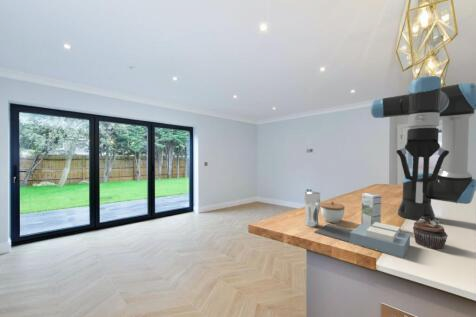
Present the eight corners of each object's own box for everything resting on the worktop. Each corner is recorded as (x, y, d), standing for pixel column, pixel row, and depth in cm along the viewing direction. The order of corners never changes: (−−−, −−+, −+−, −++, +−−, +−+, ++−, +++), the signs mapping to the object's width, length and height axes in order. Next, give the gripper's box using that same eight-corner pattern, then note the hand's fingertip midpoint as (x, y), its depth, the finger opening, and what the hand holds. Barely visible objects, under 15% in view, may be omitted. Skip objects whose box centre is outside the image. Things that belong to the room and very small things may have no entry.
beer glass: (304, 226, 98) (305, 193, 97) (303, 221, 105) (304, 190, 104) (320, 228, 96) (321, 194, 96) (318, 223, 103) (319, 191, 102)
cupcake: (414, 246, 79) (415, 219, 79) (411, 237, 88) (412, 212, 87) (450, 253, 74) (451, 224, 74) (443, 243, 82) (445, 217, 82)
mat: (328, 224, 101) (328, 223, 101) (361, 233, 91) (361, 232, 91) (314, 232, 91) (314, 231, 91) (349, 242, 81) (349, 241, 81)
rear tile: (375, 226, 88) (375, 221, 87) (399, 232, 82) (400, 227, 82) (371, 230, 84) (371, 225, 84) (397, 236, 78) (397, 230, 78)
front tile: (370, 231, 82) (370, 226, 82) (396, 237, 77) (396, 232, 76) (365, 235, 78) (366, 230, 78) (392, 242, 73) (393, 236, 73)
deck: (361, 233, 91) (361, 223, 91) (409, 245, 80) (410, 234, 80) (349, 242, 81) (350, 232, 81) (403, 258, 70) (403, 246, 70)
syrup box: (381, 226, 100) (382, 194, 99) (371, 228, 98) (373, 195, 97) (369, 222, 105) (370, 192, 104) (360, 223, 103) (361, 193, 102)
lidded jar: (331, 225, 100) (332, 205, 100) (315, 218, 110) (316, 200, 109) (349, 223, 104) (349, 203, 104) (331, 216, 114) (332, 198, 114)
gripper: (395, 128, 71) (392, 200, 72) (451, 125, 62) (447, 208, 62) (399, 130, 76) (396, 197, 77) (451, 127, 67) (447, 204, 68)
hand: (419, 202), depth 70 cm, fingers closed
